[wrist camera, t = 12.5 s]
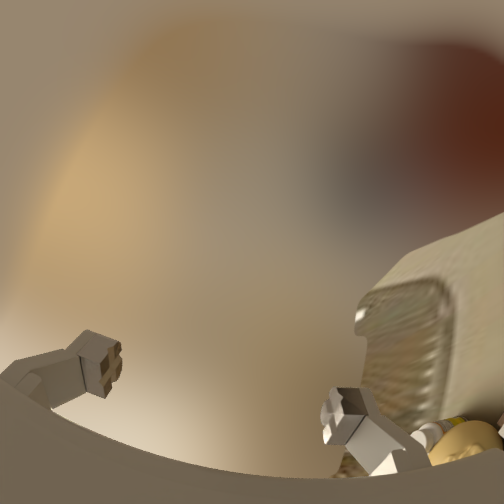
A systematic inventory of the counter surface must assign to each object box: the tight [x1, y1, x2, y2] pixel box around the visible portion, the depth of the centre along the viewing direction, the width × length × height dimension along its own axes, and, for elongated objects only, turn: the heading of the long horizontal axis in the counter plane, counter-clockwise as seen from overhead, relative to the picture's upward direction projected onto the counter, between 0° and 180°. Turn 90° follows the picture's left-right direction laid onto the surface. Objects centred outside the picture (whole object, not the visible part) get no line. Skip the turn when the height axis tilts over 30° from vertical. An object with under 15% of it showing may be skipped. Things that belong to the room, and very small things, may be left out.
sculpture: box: [428, 420, 503, 466], centre depth 21 cm, size 12×12×11 cm
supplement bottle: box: [411, 416, 468, 455], centre depth 27 cm, size 6×6×10 cm
